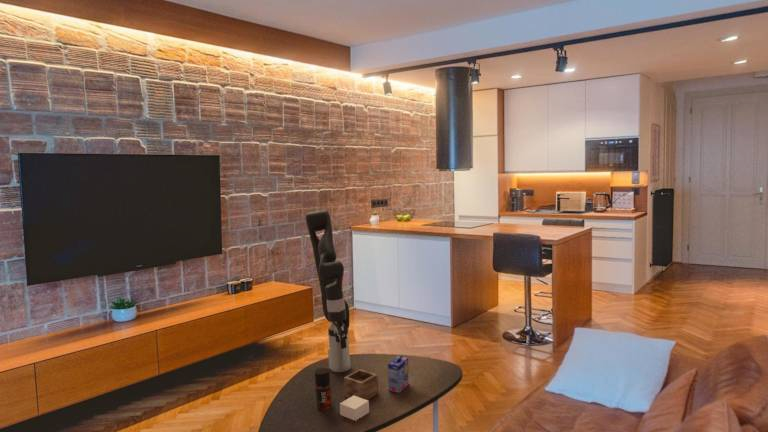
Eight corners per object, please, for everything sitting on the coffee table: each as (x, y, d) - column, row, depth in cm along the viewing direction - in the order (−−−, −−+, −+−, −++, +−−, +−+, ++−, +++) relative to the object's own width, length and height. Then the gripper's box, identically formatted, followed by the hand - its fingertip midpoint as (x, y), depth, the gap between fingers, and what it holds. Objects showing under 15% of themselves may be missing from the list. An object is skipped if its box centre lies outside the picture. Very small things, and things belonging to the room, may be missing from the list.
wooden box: (344, 396, 222) (343, 377, 221) (360, 387, 230) (359, 368, 229) (362, 403, 216) (361, 383, 215) (378, 393, 224) (377, 374, 222)
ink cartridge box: (399, 393, 222) (398, 360, 220) (388, 391, 225) (386, 358, 223) (409, 383, 231) (408, 352, 229) (398, 381, 234) (396, 350, 232)
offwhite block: (340, 415, 207) (339, 403, 207) (354, 407, 213) (353, 395, 213) (355, 421, 202) (354, 409, 202) (369, 412, 208) (368, 400, 208)
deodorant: (320, 411, 211) (317, 375, 209) (314, 405, 216) (312, 370, 214) (333, 407, 213) (331, 371, 211) (328, 401, 219) (326, 366, 217)
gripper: (323, 306, 229) (328, 341, 231) (331, 314, 216) (336, 352, 218) (340, 302, 232) (345, 338, 234) (349, 310, 218) (354, 348, 220)
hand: (341, 345), depth 226 cm, fingers open, 8 cm apart
